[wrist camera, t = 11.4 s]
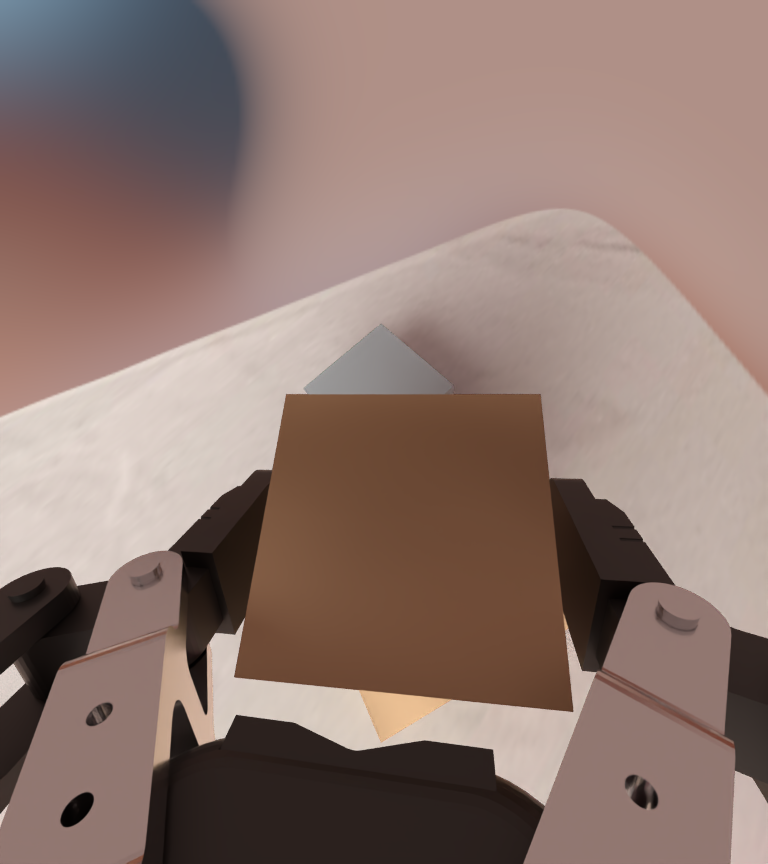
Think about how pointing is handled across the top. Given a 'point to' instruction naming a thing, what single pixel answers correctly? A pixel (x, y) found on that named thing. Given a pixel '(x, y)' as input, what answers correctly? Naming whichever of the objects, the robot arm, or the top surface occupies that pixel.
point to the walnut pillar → (410, 551)
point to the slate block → (380, 370)
